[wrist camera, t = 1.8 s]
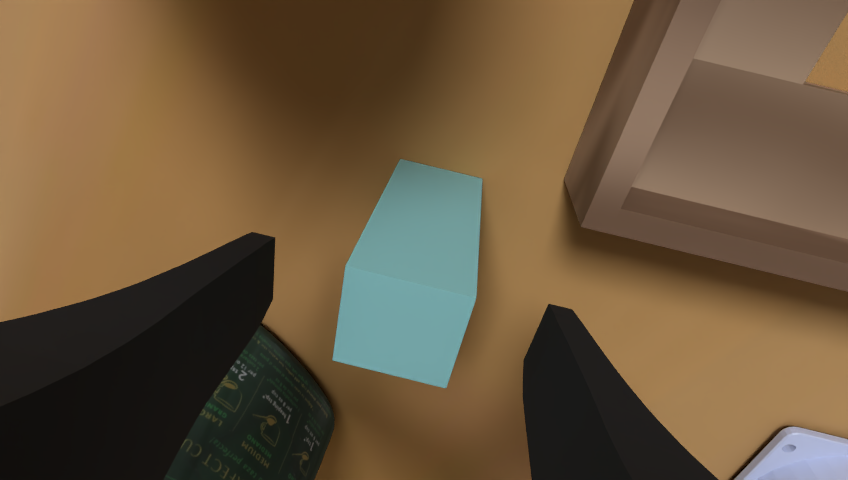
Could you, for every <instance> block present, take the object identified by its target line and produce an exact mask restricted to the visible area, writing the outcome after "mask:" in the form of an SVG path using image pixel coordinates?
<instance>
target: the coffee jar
mask: <svg viewBox="0 0 848 480" xmlns="http://www.w3.org/2000/svg"><path fill="white" fill-rule="evenodd" d="M334 421H335V419H334V413H333V410H332V407H331V405H330V403H329V401H328V399H327V397H326V396H325V395H324V393H323V392H322V390H321V389H320V387H319V386H318V384H317V383H316V382H315V381H314V379H313V378H312V376H311V375H310V374H309V373H308V371H307V370H306V369H305V368H304V367H303V366H302V365H301V364H300V363H299V361H298V360H297V359H296V358H295V357H294V356H293V355H292V354H291V353H290V352H289V351H288V350H287V349H286V347H285V346H284V345H282V344H281V343H280V342H279V341H278V340H277V339H276V338H275V337H274V336H273V335H272V334H271V333H270V332H268V331H267V330H266V329H265V328H264V327H262V326H261V325H260V326H259V327H258V329H257V331H256V333H255V334H254V336H253V337H252V339H251V340H250V342H249V343H248V345H247V346H246V347H245V349H244V350H243V352H242V353H241V355H240V356H239V358H238V359H237V360H236V362H235V363H234V365H233V366H232V368H231V369H230V370H229V372H228V373H227V375H226V376H225V378H224V379H223V380H222V382H221V383H220V385H219V386H218V388H217V389H216V390H215V392H214V393H213V395H212V396H211V398H210V399H209V400H208V402H207V403H206V405H205V407H204V408H203V410H202V411H201V413H200V414H199V416H198V418H197V419H196V421H195V423H194V425H193V427H192V428H191V430H190V432H189V434H188V435H187V437H186V439H185V441H184V443H183V444H182V446H181V448H180V450H179V452H178V453H177V455H176V457H175V459H174V461H173V463H172V465H171V467H170V468H169V470H168V472H167V474H166V476H165V478H164V480H314V479H315V477H316V474H317V471H318V469H319V467H320V464H321V462H322V459H323V457H324V454H325V451H326V449H327V446H328V444H329V441H330V439H331V436H332V433H333V430H334Z"/></svg>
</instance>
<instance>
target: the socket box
mask: <svg viewBox="0 0 848 480" xmlns="http://www.w3.org/2000/svg"><path fill="white" fill-rule="evenodd" d="M847 12H848V0H634V2H633V5H632V7H631V10H630V13H629V15H628V18H627V20H626V23H625V25H624V28H623V30H622V33H621V35H620V38H619V41H618V43H617V46H616V48H615V51H614V53H613V56H612V58H611V61H610V63H609V66H608V68H607V71H606V74H605V76H604V79H603V81H602V84H601V86H600V89H599V91H598V94H597V96H596V99H595V102H594V104H593V107H592V109H591V112H590V114H589V117H588V119H587V122H586V124H585V127H584V129H583V132H582V135H581V137H580V140H579V142H578V145H577V147H576V150H575V152H574V155H573V157H572V160H571V163H570V165H569V168H568V170H567V173H566V175H565V178H564V181H565V184H566V186H567V189H568V192H569V195H570V198H571V201H572V203H573V206H574V209H575V212H576V215H577V218H578V220H579V223H580V226H581V227H583V228H588V229H592V230H596V231H600V232H604V233H608V234H612V235H616V236H620V237H625V238H629V239H633V240H637V241H641V242H645V243H649V244H653V245H658V246H662V247H666V248H670V249H674V250H678V251H682V252H686V253H690V254H695V255H699V256H703V257H707V258H711V259H715V260H719V261H723V262H727V263H732V264H736V265H740V266H744V267H748V268H752V269H756V270H760V271H764V272H769V273H773V274H777V275H781V276H785V277H789V278H793V279H797V280H801V281H806V282H810V283H814V284H818V285H822V286H826V287H830V288H834V289H839V290H843V291H847V292H848V92H846V91H841V90H837V89H833V88H829V87H825V86H821V85H816V84H812V83H808V82H805V80H806V79H807V77H808V76H809V74H810V72H811V71H812V69H813V67H814V66H815V64H816V63H817V61H818V59H819V58H820V56H821V54H822V53H823V51H824V50H825V48H826V46H827V45H828V43H829V42H830V40H831V38H832V37H833V35H834V33H835V32H836V30H837V29H838V27H839V25H840V24H841V22H842V20H843V19H844V17H845V16H846V14H847Z"/></svg>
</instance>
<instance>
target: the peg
mask: <svg viewBox="0 0 848 480" xmlns="http://www.w3.org/2000/svg"><path fill="white" fill-rule="evenodd" d="M481 198H482V178H477V177H473V176H469V175H465V174H461V173H457V172H453V171H449V170H445V169H440V168H436V167H432V166H428V165H424V164H420V163H416V162H412V161H407V160H403V159H400V160H399V162H398V164H397V166H396V168H395V170H394V172H393V174H392V176H391V178H390V180H389V182H388V184H387V186H386V188H385V190H384V192H383V193H382V195H381V197H380V199H379V201H378V203H377V205H376V207H375V209H374V211H373V213H372V215H371V217H370V219H369V221H368V223H367V225H366V227H365V229H364V231H363V233H362V235H361V237H360V239H359V240H358V242H357V244H356V246H355V248H354V250H353V252H352V254H351V256H350V258H349V260H348V262H347V264H346V266H345V273H344V280H343V288H342V295H341V302H340V309H339V317H338V324H337V331H336V338H335V346H334V353H333V361H337V362H341V363H345V364H349V365H353V366H357V367H361V368H365V369H369V370H373V371H377V372H381V373H386V374H390V375H394V376H398V377H402V378H406V379H410V380H414V381H418V382H422V383H426V384H430V385H434V386H438V387H442V388H446V387H447V384H448V381H449V378H450V375H451V372H452V369H453V366H454V363H455V360H456V357H457V354H458V351H459V348H460V345H461V343H462V340H463V337H464V334H465V331H466V328H467V325H468V322H469V319H470V316H471V313H472V310H473V307H474V304H475V301H476V295H477V276H478V256H479V237H480V217H481Z"/></svg>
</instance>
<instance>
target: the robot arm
mask: <svg viewBox="0 0 848 480" xmlns="http://www.w3.org/2000/svg"><path fill="white" fill-rule="evenodd" d="M274 255H275V237H271V236H266V235H262V234H258V233H254V232H251V233H249V234H246V235H244V236H242V237H240V238H238V239H236V240H233V241H231V242H229V243H227V244H225V245H223V246H221V247H219V248H217V249H215V250H213V251H211V252H209V253H206V254H204V255H202V256H200V257H198V258H196V259H194V260H191V261H189V262H187V263H185V264H183V265H181V266H178V267H176V268H173V269H171V270H169V271H166V272H164V273H161V274H159V275H157V276H154V277H152V278H150V279H147V280H145V281H142V282H140V283H137V284H134V285H132V286H129V287H126V288H123V289H121V290H118V291H115V292H112V293H109V294H105V295H102V296H99V297H96V298H93V299H90V300H87V301H83V302H80V303H76V304H72V305H68V306H65V307H61V308H57V309H53V310H50V311H46V312H42V313H39V314H35V315H31V316H26V317H22V318H17V319H13V320H8V321H4V322H0V480H164V478H165V476H166V474H167V472H168V470H169V468H170V467H171V465H172V463H173V461H174V459H175V457H176V455H177V453H178V452H179V450H180V448H181V446H182V444H183V443H184V441H185V439H186V437H187V435H188V434H189V432H190V430H191V428H192V427H193V425H194V423H195V421H196V419H197V418H198V416H199V414H200V413H201V411H202V410H203V408H204V407H205V405H206V403H207V402H208V400H209V399H210V398H211V396H212V395H213V393H214V392H215V390H216V389H217V388H218V386H219V385H220V383H221V382H222V380H223V379H224V378H225V376H226V375H227V373H228V372H229V370H230V369H231V368H232V366H233V365H234V363H235V362H236V360H237V359H238V358H239V356H240V355H241V353H242V352H243V350H244V349H245V347H246V346H247V345H248V343H249V342H250V340H251V339H252V337H253V336H254V334H255V333H256V331H257V329H258V327H259V326H260V324H261V322H262V320H263V318H264V316H265V314H266V312H267V310H268V308H269V306H270V304H271V302H272V300H273V281H274ZM523 404H524V413H525V423H526V432H527V441H528V449H529V458H530V467H531V476H532V480H718V479H717V478H716V477H715V476H714V475H713V474H712V473H711V472H709V471H708V470H707V469H706V468H705V467H704V466H703V465H702V464H701V463H700V462H699V461H697V460H696V459H695V458H694V457H693V456H692V455H691V454H690V453H689V452H688V451H687V450H686V449H685V448H684V447H683V446H682V445H681V444H680V443H679V442H678V441H677V440H676V439H675V438H674V437H673V435H672V434H671V433H670V432H669V431H668V430H667V429H666V428H665V427H664V426H663V425H662V424H661V423H660V422H659V421H658V420H657V419H656V417H655V416H654V415H653V414H652V413H651V412H650V411H649V410H648V408H647V407H646V406H645V405H644V404H643V403H642V401H641V400H640V399H639V398H638V397H637V395H636V394H635V393H634V392H633V391H632V389H631V388H630V387H629V386H628V384H627V383H626V382H625V381H624V379H623V378H622V377H621V376H620V374H619V373H618V372H617V370H616V369H615V368H614V366H613V365H612V364H611V362H610V361H609V360H608V358H607V357H606V356H605V354H604V353H603V352H602V350H601V349H600V347H599V346H598V345H597V343H596V342H595V340H594V339H593V338H592V336H591V335H590V333H589V332H588V331H587V329H586V328H585V326H584V325H583V323H582V322H581V321H580V319H579V318H578V317H577V315H576V314H575V313H574V311H573V310H572V309H568V308H564V307H560V306H556V305H551V304H548V307H547V309H546V311H545V313H544V316H543V318H542V320H541V322H540V325H539V327H538V329H537V331H536V334H535V336H534V338H533V340H532V343H531V345H530V347H529V349H528V352H527V354H526V356H525V358H524V365H523ZM734 480H848V439H844V438H840V437H836V436H832V435H828V434H824V433H820V432H816V431H812V430H808V429H804V428H800V427H787V428H784V429H783V430H781V431H780V432H779V433H778V434H777V435H776V436H775V437H774V438H773V439H772V440H771V442H770V443H769V444H768V445H767V446H766V447H765V448H764V449H763V450H762V451H761V452H760V453H759V454H758V455H757V456H756V457H755V458H754V459H753V460H752V461H751V462H750V463H749V464H748V465H747V467H746V468H745V469H744V470H743V471H742V472H741V473H740V474H739V475H738V476H737V477H736V478H735V479H734Z"/></svg>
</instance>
